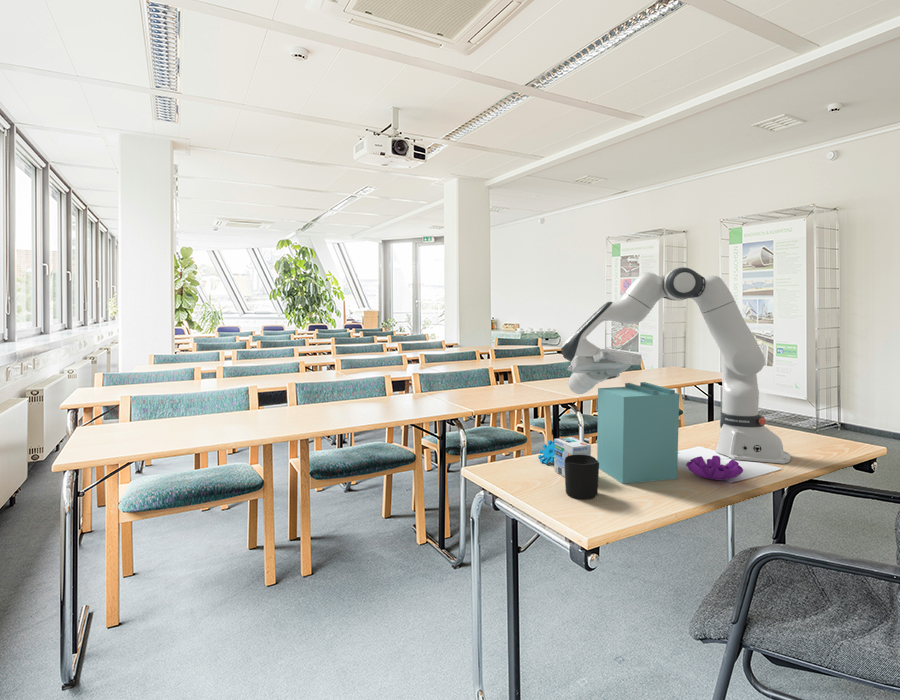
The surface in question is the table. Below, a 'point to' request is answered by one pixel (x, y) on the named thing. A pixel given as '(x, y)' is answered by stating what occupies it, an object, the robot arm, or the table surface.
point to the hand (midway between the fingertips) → (610, 353)
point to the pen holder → (581, 476)
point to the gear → (548, 452)
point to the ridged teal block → (638, 432)
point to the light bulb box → (568, 451)
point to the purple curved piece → (714, 468)
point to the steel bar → (622, 356)
